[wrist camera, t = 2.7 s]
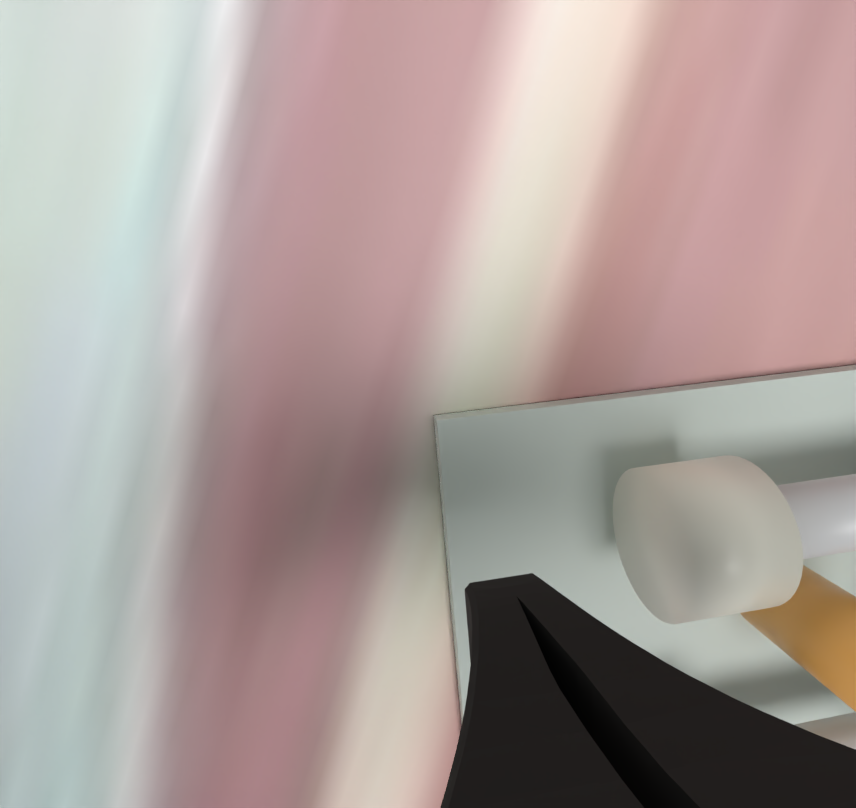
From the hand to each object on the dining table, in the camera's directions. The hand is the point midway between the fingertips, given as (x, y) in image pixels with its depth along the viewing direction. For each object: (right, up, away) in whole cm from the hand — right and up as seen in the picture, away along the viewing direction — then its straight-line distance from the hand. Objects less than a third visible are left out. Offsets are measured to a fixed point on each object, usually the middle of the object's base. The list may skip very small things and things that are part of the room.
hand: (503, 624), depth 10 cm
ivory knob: (+9, +2, +5) cm, 10 cm away
